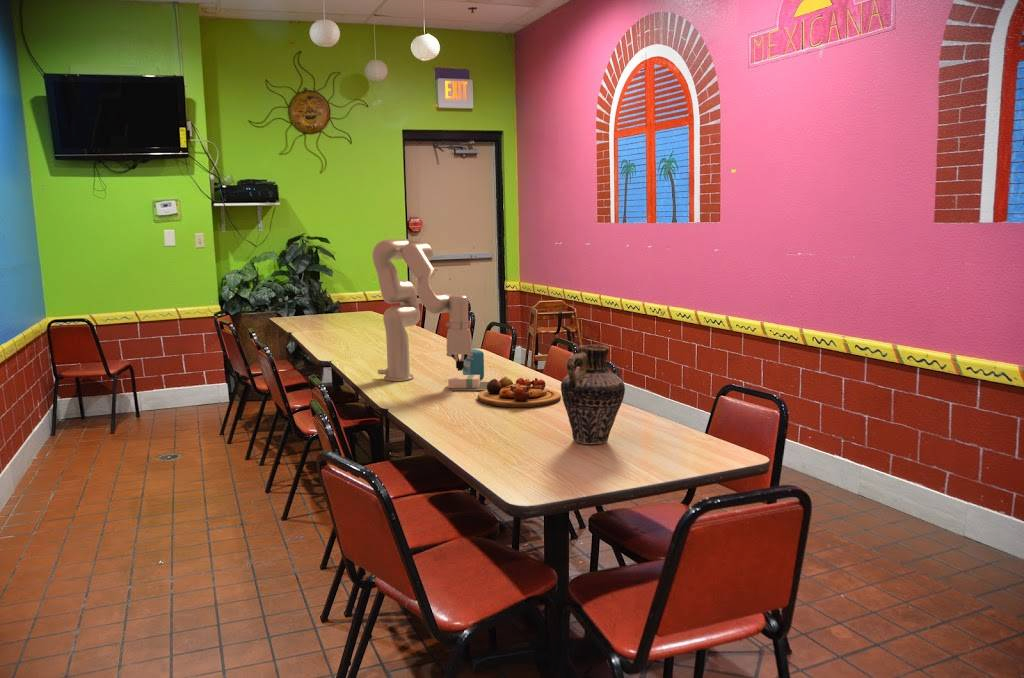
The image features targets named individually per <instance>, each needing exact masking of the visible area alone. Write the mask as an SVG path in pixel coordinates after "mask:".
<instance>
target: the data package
mask: <svg viewBox="0 0 1024 678" xmlns="http://www.w3.org/2000/svg"><path fill="white" fill-rule="evenodd" d="M472 353H473V355H472V356H470V357H467V358H466V359H465V360H464V368H463V369H462V375H480V380H481V378H482V379H483V378H484V377H485V358H484V357H485V354H484V351H483V350H480V349H477V348H473V347H472Z"/></svg>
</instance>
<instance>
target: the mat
mask: <svg viewBox="0 0 1024 678" xmlns="http://www.w3.org/2000/svg"><path fill="white" fill-rule="evenodd" d="M489 382H490V381H480V385H479V387H478V388H451V392H482V391H485V390H487V384H488V383H489Z"/></svg>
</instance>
